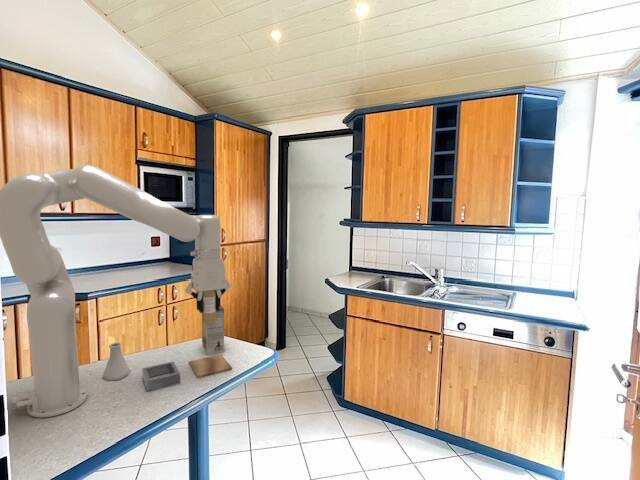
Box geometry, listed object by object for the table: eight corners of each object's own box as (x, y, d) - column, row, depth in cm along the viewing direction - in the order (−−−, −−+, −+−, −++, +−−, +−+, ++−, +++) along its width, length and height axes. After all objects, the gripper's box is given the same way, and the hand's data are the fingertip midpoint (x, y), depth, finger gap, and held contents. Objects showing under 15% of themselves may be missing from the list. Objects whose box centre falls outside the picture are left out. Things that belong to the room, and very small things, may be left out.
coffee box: (201, 345, 131) (200, 303, 129) (218, 342, 134) (218, 301, 132) (206, 355, 123) (206, 311, 121) (225, 351, 127) (224, 308, 125)
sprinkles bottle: (204, 318, 116) (203, 278, 114) (218, 319, 116) (217, 279, 114) (199, 323, 111) (198, 281, 110) (213, 324, 111) (212, 282, 109)
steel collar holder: (146, 391, 100) (146, 381, 100) (142, 377, 108) (142, 368, 107) (180, 383, 105) (179, 373, 105) (173, 370, 113) (173, 361, 112)
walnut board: (197, 378, 108) (197, 376, 108) (188, 363, 117) (188, 361, 117) (232, 369, 114) (232, 367, 114) (221, 356, 123) (221, 354, 123)
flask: (134, 370, 112) (133, 340, 110) (119, 382, 105) (118, 350, 103) (113, 368, 112) (112, 338, 111) (97, 380, 105) (95, 348, 104)
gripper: (182, 258, 103) (184, 318, 105) (238, 254, 112) (238, 309, 115) (177, 254, 109) (178, 311, 111) (230, 250, 118) (230, 303, 121)
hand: (208, 309), depth 113 cm, fingers closed on sprinkles bottle, 4 cm apart
